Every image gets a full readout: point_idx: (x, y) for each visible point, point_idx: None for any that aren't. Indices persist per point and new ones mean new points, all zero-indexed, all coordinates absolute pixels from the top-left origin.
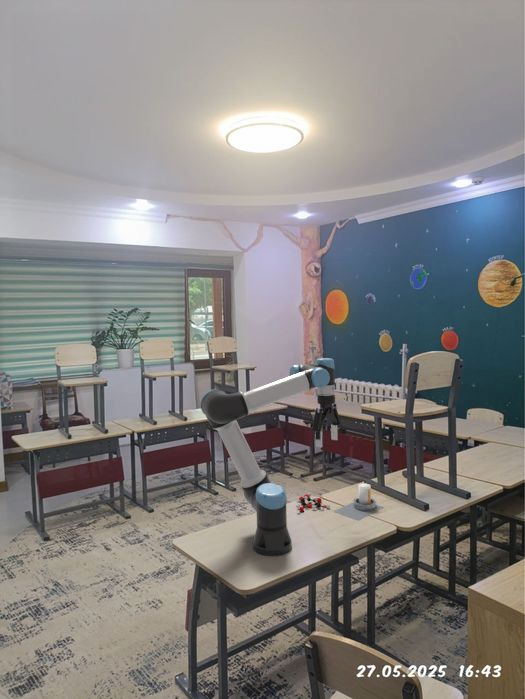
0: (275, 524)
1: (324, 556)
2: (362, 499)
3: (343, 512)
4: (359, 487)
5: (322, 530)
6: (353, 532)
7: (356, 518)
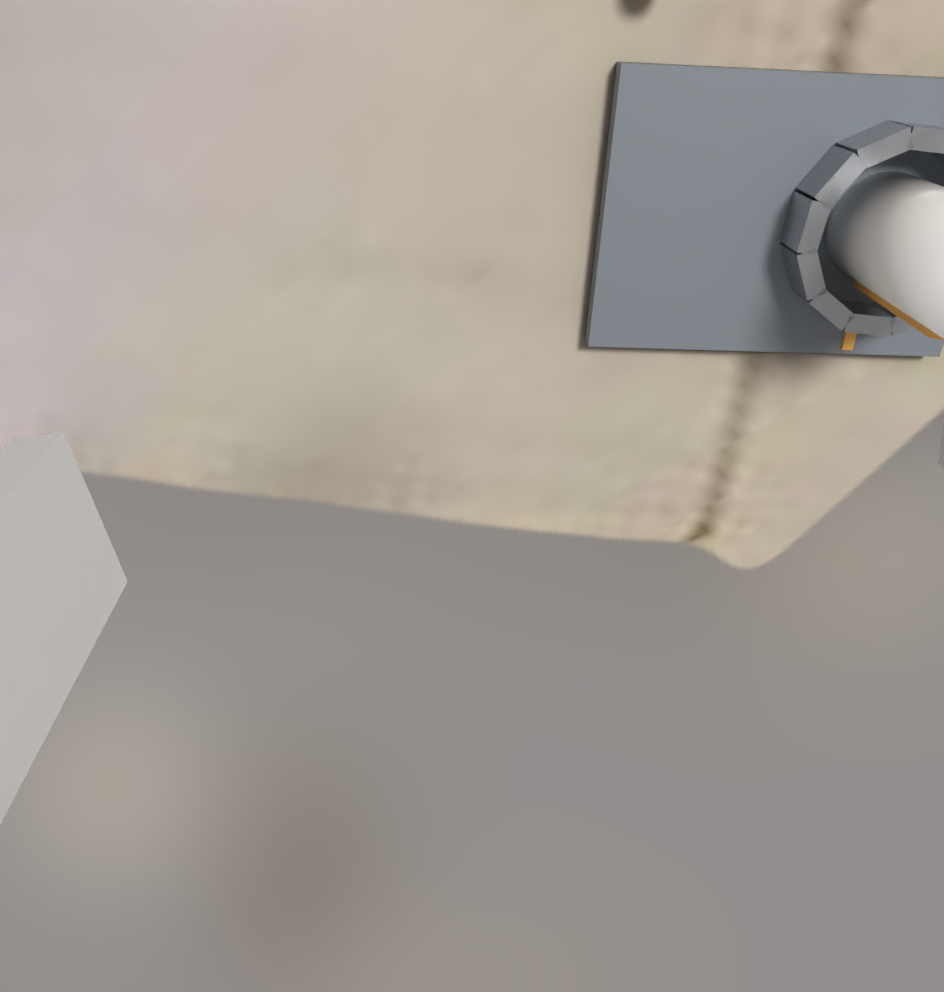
0: None
1: None
2: (860, 259)
3: (658, 157)
4: (928, 251)
5: (288, 208)
6: (427, 398)
7: (612, 314)
